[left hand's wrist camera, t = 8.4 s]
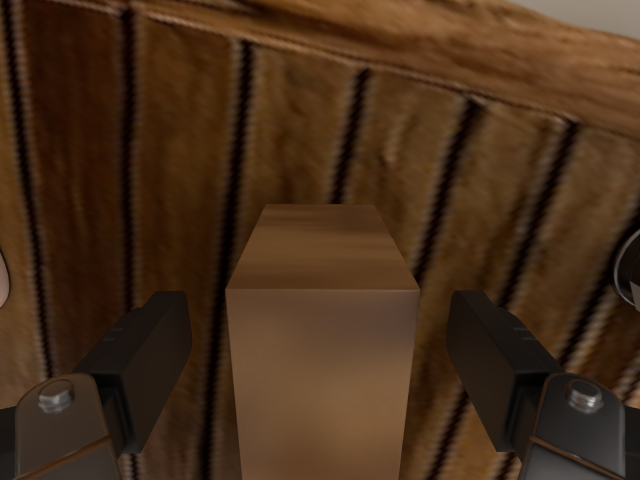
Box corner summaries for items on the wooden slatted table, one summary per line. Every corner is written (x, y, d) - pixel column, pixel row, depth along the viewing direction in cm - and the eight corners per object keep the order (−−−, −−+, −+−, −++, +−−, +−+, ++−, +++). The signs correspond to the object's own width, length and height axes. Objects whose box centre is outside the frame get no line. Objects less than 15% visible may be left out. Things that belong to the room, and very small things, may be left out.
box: (265, 203, 21) (224, 289, 12) (374, 204, 21) (421, 290, 12) (278, 510, 30) (262, 698, 21) (354, 509, 30) (372, 697, 21)
